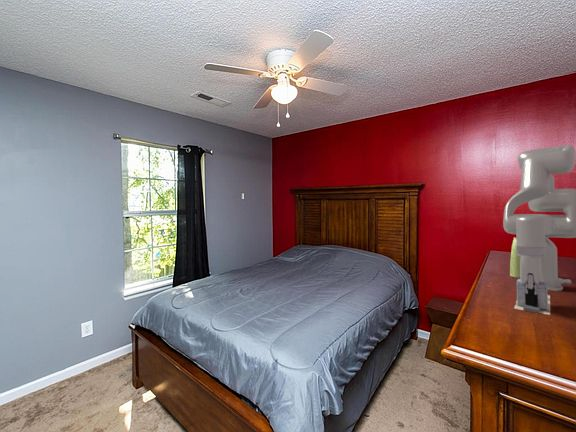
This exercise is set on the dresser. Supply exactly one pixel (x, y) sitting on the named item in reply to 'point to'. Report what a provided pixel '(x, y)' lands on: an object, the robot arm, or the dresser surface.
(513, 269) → the tube
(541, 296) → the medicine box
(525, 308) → the graphite tile
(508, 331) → the dresser surface
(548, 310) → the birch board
